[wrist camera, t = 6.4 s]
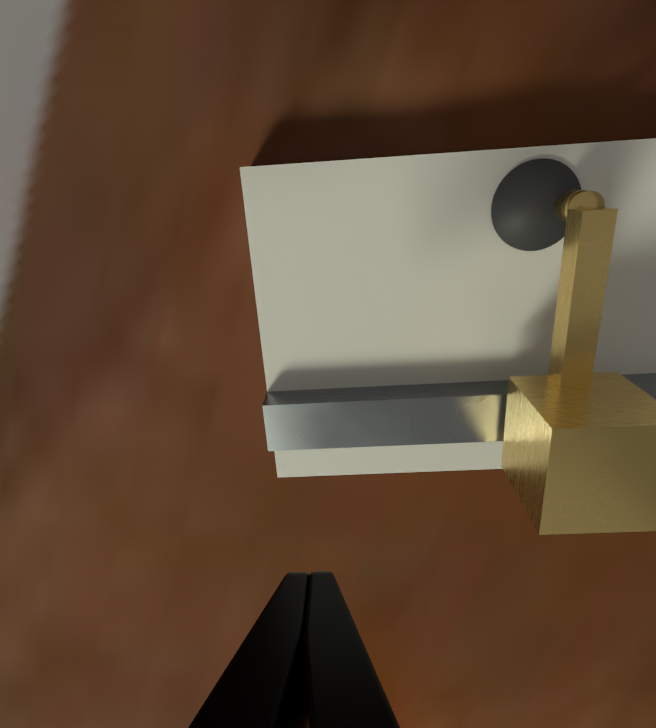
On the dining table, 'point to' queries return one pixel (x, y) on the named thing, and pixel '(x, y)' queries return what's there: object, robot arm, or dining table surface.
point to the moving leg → (581, 404)
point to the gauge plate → (438, 277)
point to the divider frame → (394, 414)
